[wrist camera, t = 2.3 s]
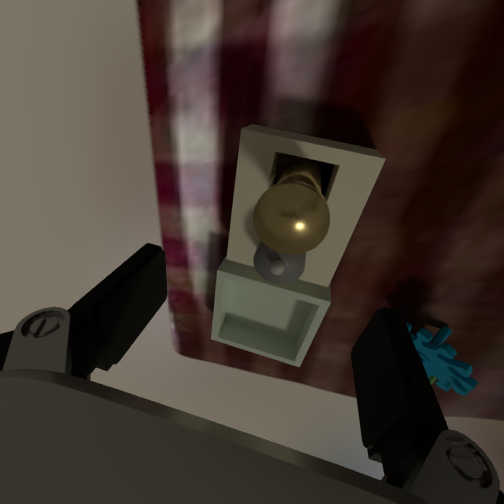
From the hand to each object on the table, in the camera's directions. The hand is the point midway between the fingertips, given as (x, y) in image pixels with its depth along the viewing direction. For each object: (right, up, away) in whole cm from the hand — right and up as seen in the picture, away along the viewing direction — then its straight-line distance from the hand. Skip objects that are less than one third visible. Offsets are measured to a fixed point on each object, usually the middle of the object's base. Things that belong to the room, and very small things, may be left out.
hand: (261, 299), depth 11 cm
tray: (+2, -5, +26) cm, 26 cm away
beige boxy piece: (+4, +7, +16) cm, 19 cm away
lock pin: (+5, +10, +15) cm, 18 cm away
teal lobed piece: (+22, -9, +22) cm, 32 cm away
